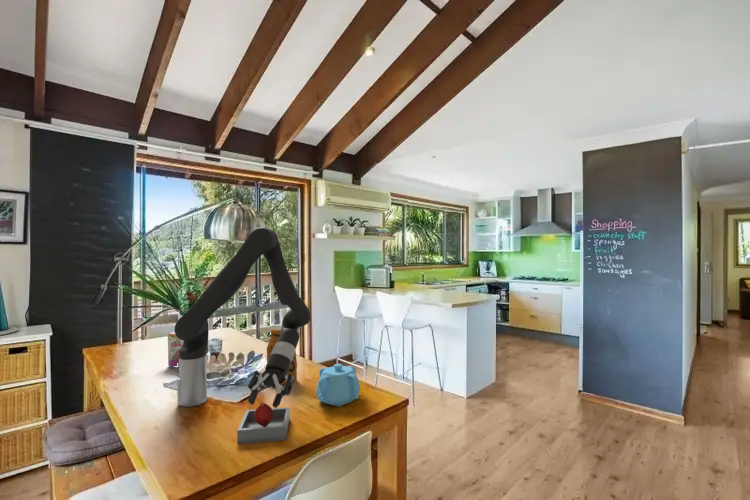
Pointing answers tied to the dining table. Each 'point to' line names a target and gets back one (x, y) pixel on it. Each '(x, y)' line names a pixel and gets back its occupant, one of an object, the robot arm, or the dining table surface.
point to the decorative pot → (338, 385)
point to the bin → (258, 433)
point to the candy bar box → (173, 349)
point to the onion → (263, 414)
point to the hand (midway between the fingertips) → (262, 405)
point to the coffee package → (270, 347)
